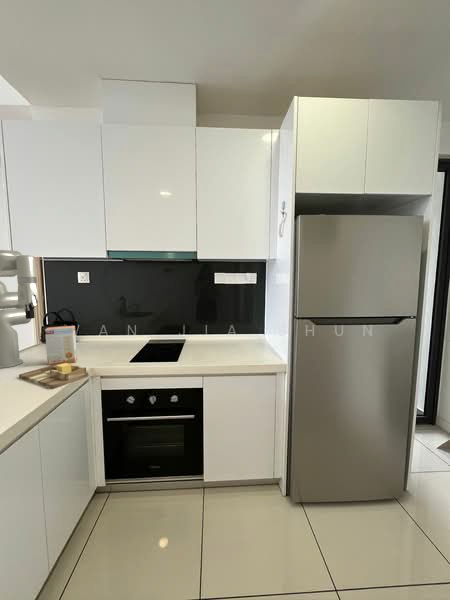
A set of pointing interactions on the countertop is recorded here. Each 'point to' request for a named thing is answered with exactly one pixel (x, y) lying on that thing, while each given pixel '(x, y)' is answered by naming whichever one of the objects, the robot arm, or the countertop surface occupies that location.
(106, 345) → the countertop surface
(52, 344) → the cracker box
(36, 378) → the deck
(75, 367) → the cubby
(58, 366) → the cube
